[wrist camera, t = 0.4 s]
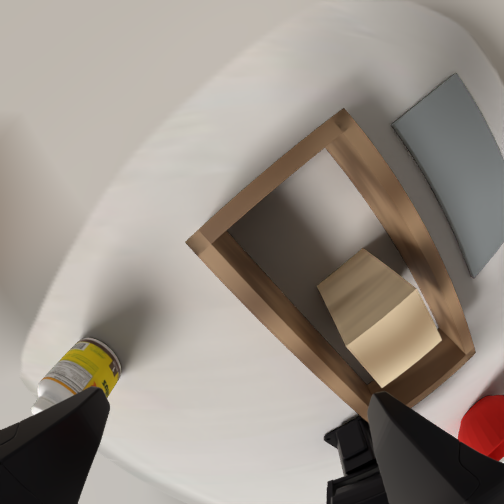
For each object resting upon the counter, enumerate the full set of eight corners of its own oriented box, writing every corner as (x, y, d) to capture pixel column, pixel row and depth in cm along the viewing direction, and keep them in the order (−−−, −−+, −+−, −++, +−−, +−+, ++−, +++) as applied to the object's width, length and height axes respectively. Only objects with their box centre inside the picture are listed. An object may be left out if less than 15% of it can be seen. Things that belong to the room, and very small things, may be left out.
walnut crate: (448, 326, 21) (475, 352, 16) (362, 394, 23) (377, 430, 18) (323, 125, 17) (343, 107, 12) (203, 226, 19) (184, 242, 14)
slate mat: (519, 214, 18) (522, 215, 17) (471, 276, 19) (474, 278, 19) (453, 74, 15) (456, 72, 14) (391, 124, 17) (394, 123, 16)
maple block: (390, 289, 20) (441, 340, 12) (347, 323, 21) (381, 388, 13) (362, 247, 19) (416, 288, 11) (316, 285, 20) (345, 346, 12)
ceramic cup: (524, 370, 23) (553, 400, 14) (460, 441, 27) (480, 477, 18) (511, 346, 22) (550, 384, 12) (431, 434, 26) (455, 481, 16)
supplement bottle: (116, 387, 24) (76, 455, 14) (75, 358, 23) (25, 417, 13) (130, 357, 22) (81, 434, 13) (83, 324, 22) (21, 386, 12)
